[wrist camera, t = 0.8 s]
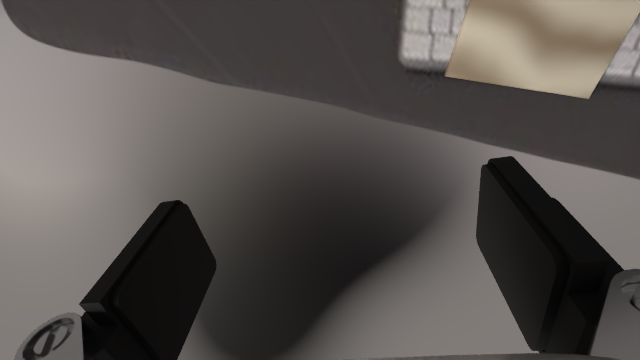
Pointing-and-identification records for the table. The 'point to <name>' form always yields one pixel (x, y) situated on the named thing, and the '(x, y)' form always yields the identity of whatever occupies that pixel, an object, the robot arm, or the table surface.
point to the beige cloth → (541, 43)
